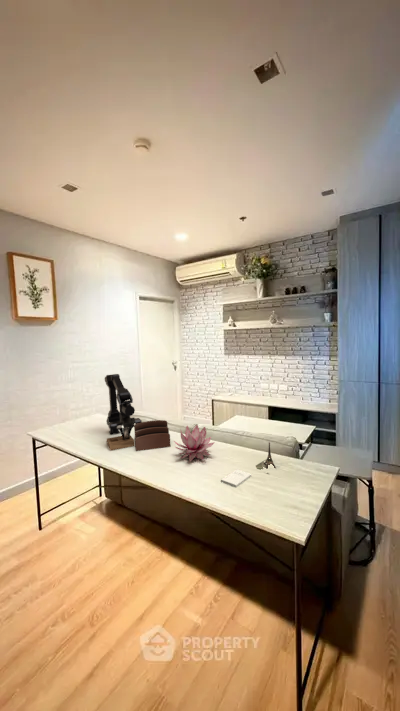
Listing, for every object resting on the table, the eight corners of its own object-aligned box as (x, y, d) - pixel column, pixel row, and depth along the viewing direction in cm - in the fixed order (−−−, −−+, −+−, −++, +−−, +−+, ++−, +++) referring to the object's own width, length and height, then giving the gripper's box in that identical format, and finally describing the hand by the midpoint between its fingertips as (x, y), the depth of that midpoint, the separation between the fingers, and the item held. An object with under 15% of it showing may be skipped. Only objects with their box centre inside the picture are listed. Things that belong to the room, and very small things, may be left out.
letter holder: (135, 445, 177) (133, 422, 176) (168, 441, 182) (167, 418, 181) (135, 451, 168) (134, 427, 167) (170, 447, 173) (169, 423, 172)
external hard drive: (220, 482, 130) (236, 472, 140) (236, 488, 125) (251, 477, 134) (220, 479, 130) (236, 468, 140) (236, 485, 125) (251, 473, 134)
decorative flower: (188, 446, 172) (187, 420, 171) (221, 452, 161) (220, 425, 160) (165, 460, 154) (164, 432, 153) (201, 468, 143) (200, 438, 142)
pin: (123, 440, 180) (122, 427, 180) (128, 439, 182) (127, 426, 181) (124, 442, 178) (123, 428, 177) (129, 441, 179) (128, 428, 178)
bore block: (106, 444, 180) (106, 438, 180) (129, 439, 187) (129, 434, 186) (110, 450, 170) (109, 444, 169) (134, 445, 176) (134, 440, 176)
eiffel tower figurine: (268, 458, 153) (267, 433, 152) (286, 464, 146) (285, 438, 145) (251, 469, 142) (250, 441, 141) (269, 475, 135) (269, 447, 134)
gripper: (111, 417, 167) (112, 444, 168) (143, 412, 175) (144, 438, 176) (107, 413, 177) (109, 438, 178) (138, 408, 185) (139, 433, 186)
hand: (126, 437), depth 179 cm, fingers closed on pin, 3 cm apart
